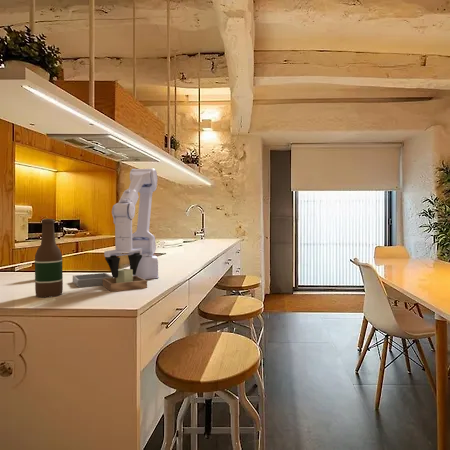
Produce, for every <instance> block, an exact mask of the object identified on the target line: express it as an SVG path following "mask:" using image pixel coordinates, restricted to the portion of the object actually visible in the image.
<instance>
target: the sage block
mask: <svg viewBox="0 0 450 450" xmlns="http://www.w3.org/2000/svg"><path fill="white" fill-rule="evenodd" d="M123 282H133V269H130V268H121V269H118V278H116V283H123Z"/></svg>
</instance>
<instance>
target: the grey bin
mask: <svg viewBox="0 0 450 450" xmlns="http://www.w3.org/2000/svg"><path fill="white" fill-rule="evenodd" d="M106 278H113V277H112V274H111V275H110V274H108V273H107V272H100V273H89V274H88V273H87V274H76V275H72V283H73V284H74V285H75V286H76V287H77V286H78V287H77V288H85V286H87V287H94V286H103V279H106Z"/></svg>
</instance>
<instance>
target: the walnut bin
mask: <svg viewBox="0 0 450 450" xmlns="http://www.w3.org/2000/svg"><path fill="white" fill-rule="evenodd" d="M102 286H103V288H105V289H107V290H109V291H110V292H119V291H121V292H122V291H127V290H138V289H147V288H148V279H143V278H140V277H138V276H133V282H123V283H116V278H106V279H103V285H102Z"/></svg>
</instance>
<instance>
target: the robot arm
mask: <svg viewBox="0 0 450 450" xmlns="http://www.w3.org/2000/svg"><path fill="white" fill-rule="evenodd" d="M129 181H130V183H129V186H128V188H127V189H124V191H123V193H122V195H121V197H120V198H119V201H118V202H116V203H115V204H113V205H112V208H111V215H112V218H113V224H114V228H115V229H114V230H115V231H114V233H115V235H114V236H115V237H114V238H115V239H114V240H115V242H114V243H115V244H114V245H115V247H114V248H115V249H113V250H104V255H103V256H104V260H105V261H106V263H107V265H108V266H109V270H110V272H111V276H112V277H113V278H118V270H119V265H120V261H121V258H120V256H127V257H128V261H129V262H128V263H129V269H133V276H138V277H140V278H143V279H145V280H151V279H159V278H160V277H159V259H158V256H157V255H154V254H155V252H156V250H157V245H156V243H157V242H156V236H155V235H154V234H152V233H151V232H150V225H151V224H150V223H151V216H152V215H151V212H152V202H153V193H154V192H156V190H157V187H158V173H157V170H156V169H155V168H154V167H151V168H132V169H130V171H129ZM138 200H139V202H138ZM137 203H139V205H138V212H137V213H138V214H137V225H136V230H135V232H133V219H134V218H135V214H136V205H137Z"/></svg>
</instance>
